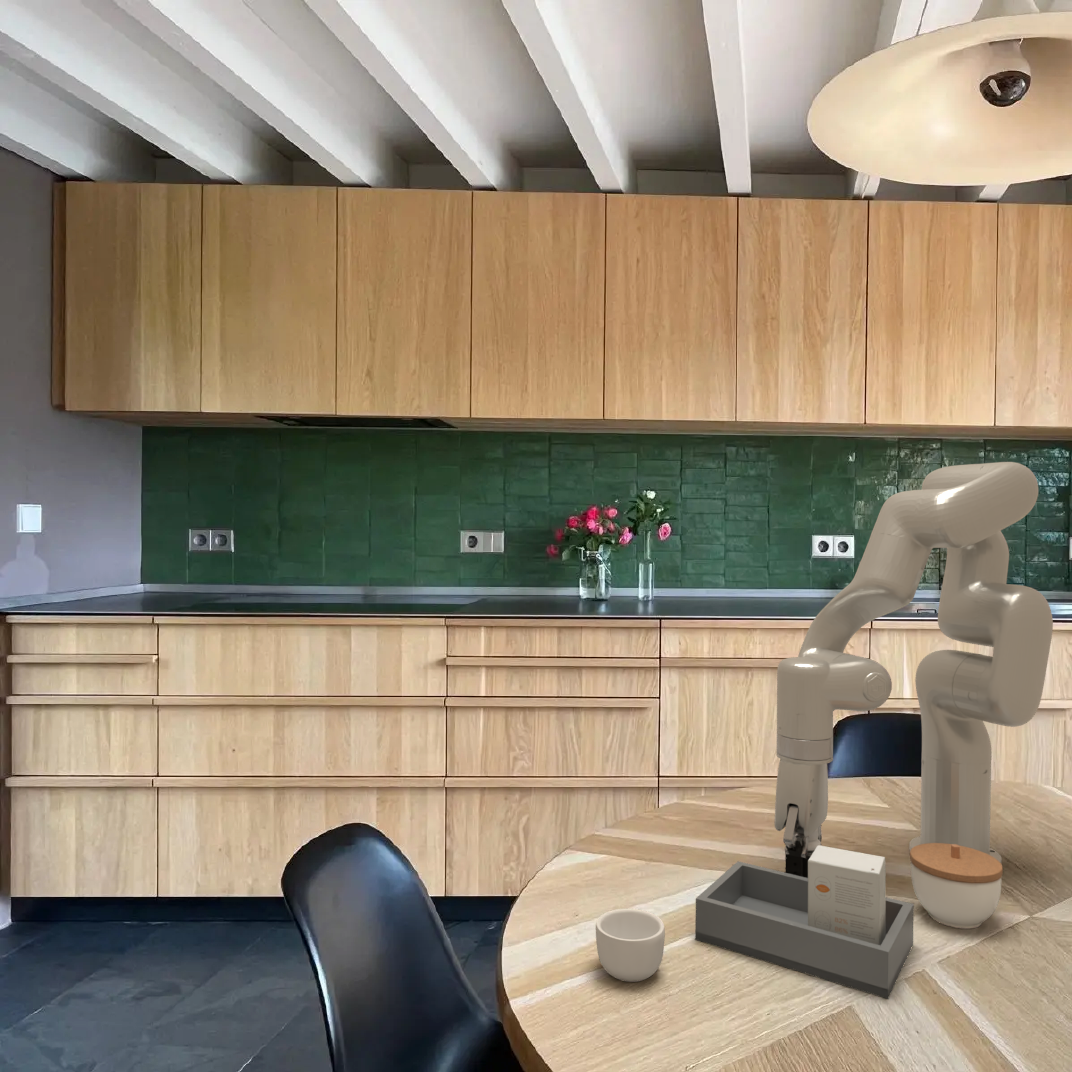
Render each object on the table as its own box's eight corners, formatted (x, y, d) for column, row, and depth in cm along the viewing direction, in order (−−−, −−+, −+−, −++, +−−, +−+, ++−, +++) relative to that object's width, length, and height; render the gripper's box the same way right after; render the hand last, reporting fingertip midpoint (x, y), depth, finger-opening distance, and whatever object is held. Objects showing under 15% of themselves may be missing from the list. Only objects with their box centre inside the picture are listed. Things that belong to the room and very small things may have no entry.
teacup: (639, 999, 88) (639, 948, 88) (581, 973, 93) (581, 925, 93) (686, 962, 96) (687, 915, 96) (630, 940, 101) (631, 896, 101)
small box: (886, 945, 98) (887, 856, 98) (879, 967, 93) (881, 873, 93) (815, 928, 102) (816, 843, 102) (806, 948, 97) (807, 858, 97)
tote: (737, 897, 113) (737, 861, 113) (913, 945, 100) (913, 904, 100) (695, 939, 101) (695, 898, 101) (887, 998, 89) (888, 952, 89)
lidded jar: (901, 922, 106) (902, 849, 106) (917, 892, 115) (917, 824, 115) (997, 946, 100) (998, 869, 100) (1005, 913, 109) (1006, 841, 109)
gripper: (796, 731, 126) (795, 851, 126) (757, 756, 112) (756, 891, 112) (847, 738, 121) (846, 862, 122) (814, 765, 107) (813, 906, 108)
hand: (803, 875), depth 117 cm, fingers closed on pill bottle, 4 cm apart
